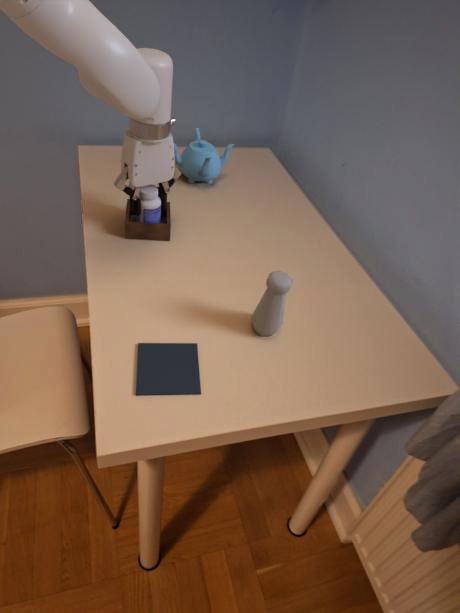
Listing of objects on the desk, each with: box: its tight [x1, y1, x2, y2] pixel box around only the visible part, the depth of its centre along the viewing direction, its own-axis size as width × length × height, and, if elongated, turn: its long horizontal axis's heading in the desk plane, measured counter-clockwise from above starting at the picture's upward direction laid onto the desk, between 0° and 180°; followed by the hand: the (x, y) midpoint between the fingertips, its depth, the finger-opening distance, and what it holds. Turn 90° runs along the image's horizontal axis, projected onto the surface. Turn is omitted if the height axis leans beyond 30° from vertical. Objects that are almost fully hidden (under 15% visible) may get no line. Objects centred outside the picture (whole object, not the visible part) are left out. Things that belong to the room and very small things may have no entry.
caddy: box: [124, 198, 172, 242], centre depth 91 cm, size 10×10×4 cm
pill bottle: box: [135, 184, 162, 224], centre depth 89 cm, size 5×5×10 cm
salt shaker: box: [251, 270, 294, 337], centre depth 71 cm, size 6×6×13 cm
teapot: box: [173, 127, 236, 184], centre depth 108 cm, size 13×13×10 cm
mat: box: [135, 342, 202, 397], centre depth 66 cm, size 10×10×1 cm
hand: (148, 208), depth 89 cm, fingers closed on pill bottle, 5 cm apart
